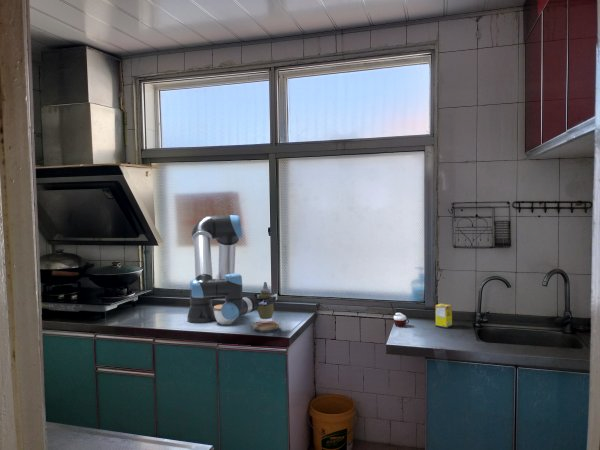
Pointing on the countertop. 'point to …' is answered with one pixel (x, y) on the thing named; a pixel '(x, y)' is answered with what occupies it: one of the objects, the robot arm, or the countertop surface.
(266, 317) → the squeeze bottle
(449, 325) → the supplement box
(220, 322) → the lidded bowl
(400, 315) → the cocoa
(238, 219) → the robot arm
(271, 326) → the tan round disc
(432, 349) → the countertop surface
